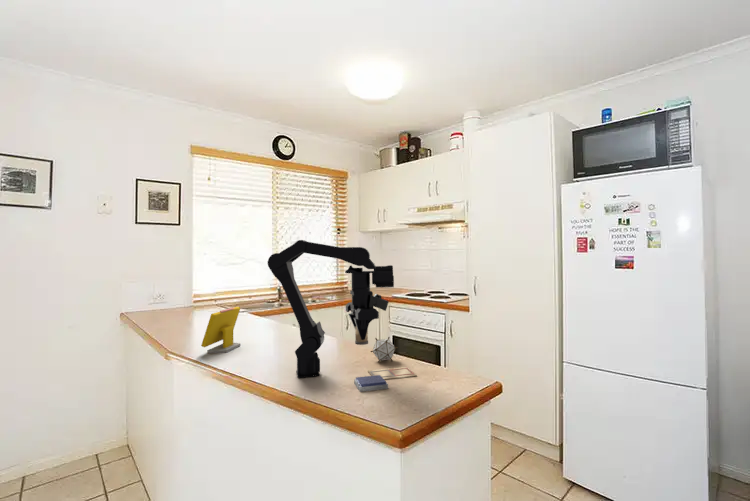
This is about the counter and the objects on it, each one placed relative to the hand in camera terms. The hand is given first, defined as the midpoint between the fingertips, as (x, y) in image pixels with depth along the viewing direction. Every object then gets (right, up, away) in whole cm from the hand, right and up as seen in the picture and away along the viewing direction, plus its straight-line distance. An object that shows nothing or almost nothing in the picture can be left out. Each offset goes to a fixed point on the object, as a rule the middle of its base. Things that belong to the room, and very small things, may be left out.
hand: (361, 338), depth 119 cm
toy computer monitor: (-55, -12, +34) cm, 66 cm away
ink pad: (+3, -11, -11) cm, 16 cm away
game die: (+7, -11, +15) cm, 20 cm away
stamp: (0, -2, 0) cm, 2 cm away
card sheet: (+9, -11, 0) cm, 14 cm away
